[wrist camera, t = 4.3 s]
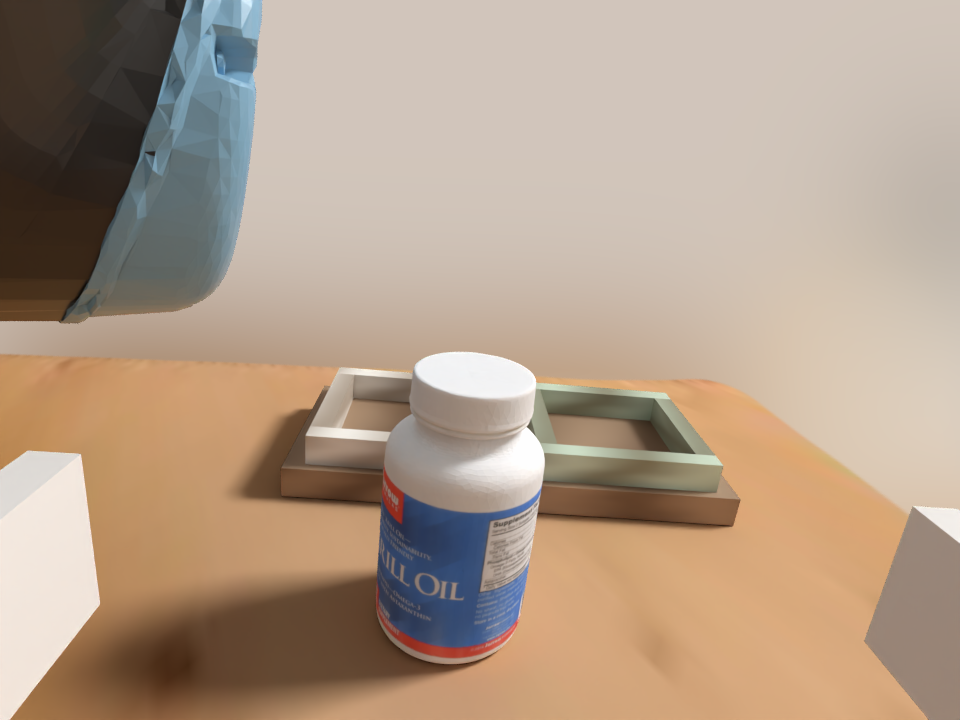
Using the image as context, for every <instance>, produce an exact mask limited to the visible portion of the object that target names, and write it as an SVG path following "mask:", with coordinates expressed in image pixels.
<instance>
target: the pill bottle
mask: <svg viewBox="0 0 960 720" xmlns="http://www.w3.org/2000/svg"><path fill="white" fill-rule="evenodd" d="M535 391H536V379H535V377H534V375H533V374H532V373H531V372H530V371H529V370H528V369H527V368H525V367H523V366H522V365H520V364H517V363H515V362H513V361H511V360H508V359H505V358H501V357H497V356H492V355H487V354H481V353H474V352H448V353H440V354H435V355H431V356H428V357H425V358H423V359H421V360H420V361H419V362H417V364H416V365H415V367H414V369H413V375H412V384H411V393H410V396H409V401H410V409H411V413H412V414H411V415H409V416H407V417H406V418H404V419H403V420H401V421H400V422H399V423H398V424H397V425H396V426H395V427H394V429H393V430H392V432H391V433H390V435H389V437H388V440H387V443H386V449H385V459H384V470H383V487H382V503H381V520H380V538H379V553H378V555H379V556H378V570H377V584H376V611H377V616H378V619H379V622H380V624H381V627H382V629H383V630H384V632H385V633H386V635H387V636H388V637H389V639H390V640H391V641H392V642H393V643H394V644H395V645H396V646H398V647H399V648H400V649H401V650H403V651H405V652H406V653H408V654H410V655H412V656H414V657H416V658H418V659H421V660H424V661H428V662H433V663H440V664H461V663H468V662H472V661H476V660H479V659H482V658H484V657H487V656H489V655H491V654H493V653H494V652H496V651H497V650H499V649H500V648H501V647H503V646H504V645H505V644H506V643H507V642H508V641H509V639H510V638H511V636H512V635H513V633H514V631H515V629H516V627H517V624H518V621H519V618H520V613H521V608H522V603H523V598H524V592H525V585H526V579H527V573H528V566H529V560H530V555H531V549H532V543H533V536H534V531H535V525H536V519H537V512H538V506H539V500H540V494H541V489H542V481H543V474H544V467H545V458H544V452H543V449H542V447H541V444H540V442H539V441H538V439H537V438H536V437H535V435H534V434H533V433H532V432H531V431H530V430H529V429H528V428H527V426H528V424H529V422H530V419H531V418H532V415H533V411H534V400H535Z"/></svg>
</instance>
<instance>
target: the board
mask: <svg viewBox="0 0 960 720" xmlns="http://www.w3.org/2000/svg"><path fill="white" fill-rule="evenodd" d="M412 375H413V373H406V372H394V371H381V370H368V369H356V368H343V367H340V368H339V370H338V372H337V374H336V376H335V378H334V380H333V382H332V384H331V386H324V388H323V390H322V392H321V394H320V395H319V397H318V399H317V401H316V403H315V405H314V407H313V409H312V411H311V412H310V414H309V416H308V418H307V420H306V422H305V424H304V426H303V427H302V429H301V431H300V433H299V435H298V437H297V439H296V441H295V443H294V444H293V446H292V448H291V450H290V452H289V454H288V456H287V458H286V459H285V461H284V463H283V465H282V467H281V496H290V497H305V498H321V499H336V500H351V501H366V502H381V503H382V487H383V470H384V459H385V449H386V443H387V440H388V437H389V435H390V433H391V432H392V430H393V429H394V427H395V426H396V425H397V424H398V423H399V422H400V421H401V420H403V419H404V418H406V417H407V416H409V415H411V414H412V413H411V409H410V401H409V396H410V393H411V384H412ZM527 428H528V429H529V430H530V431H531V432H532V433H533V434H534V435H535V437H536V438H537V439H538V441H539V442H540V444H541V447H542V449H543V452H544V458H545V467H544V474H543V481H542V489H541V494H540V500H539V506H538V512H537V513H549V514H564V515H579V516H594V517H610V518H625V519H640V520H655V521H670V522H686V523H701V524H716V525H731V526H733V525H734V521H735V517H736V514H737V510H738V507H739V503H740V498H739V497H738V496H737V494H736V493H735V492H734V490H733V489H732V488H731V487H730V485H729V484H728V483H727V481H726V480H725V479H724V477H723V476H722V475H721V473H722V470H723V465H722V463H721V462H720V461H719V460H718V458H717V457H716V456H715V454H714V453H713V452H712V451H711V449H710V448H709V447H708V446H707V444H706V443H705V442H704V441H703V439H702V438H701V437H700V436H699V434H698V433H697V432H696V431H695V429H694V428H693V427H692V426H691V424H690V423H689V422H688V421H687V419H686V418H685V417H684V416H683V414H682V413H681V412H680V411H679V409H678V408H677V407H676V406H675V404H674V403H673V402H672V401H671V399H670V398H669V397H668V396H667V394H666V393H659V392H646V391H634V390H621V389H608V388H596V387H583V386H570V385H558V384H545V383H536V391H535V400H534V411H533V415H532V418H531V419H530V422H529V424H528V426H527Z"/></svg>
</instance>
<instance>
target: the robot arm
mask: <svg viewBox="0 0 960 720" xmlns="http://www.w3.org/2000/svg"><path fill="white" fill-rule="evenodd" d="M261 18H262V0H0V321H59V322H60V323H69V324H70V323H80V322H82V321H84V320H86V319H87V318H88V317H97V316H112V315H128V314H144V313H160V312H173V311H178V310H181V309H185V308H188V307H191V306H192V305H193V304H196V303H198V302H200V301H202V300H204V299H205V298H207V297H208V296H209V295H211V294H212V293H213V292H214V291H215V289H216V288H217V287H218V286H219V285H220V283H221V281H222V280H223V278H224V276H225V274H226V272H227V269H228V267H229V265H230V262H231V259H232V256H233V252H234V248H235V244H236V240H237V236H238V232H239V226H240V221H241V216H242V210H243V204H244V198H245V191H246V184H247V177H248V170H249V163H250V153H251V145H252V137H253V126H254V114H255V102H256V89H255V82H254V78H253V71H254V70H255V68H256V66H257V65H256V64H257V45H258V38H259V32H260V26H261ZM99 605H100V599H99V591H98V584H97V576H96V568H95V560H94V552H93V545H92V537H91V529H90V521H89V514H88V506H87V498H86V490H85V482H84V475H83V467H82V459H81V454H73V453H57V452H41V451H27V452H25V453H24V454H22V455H21V456H20V457H18V458H17V459H15V460H14V461H13V462H11V463H10V464H8V465H7V466H5V467H4V468H3V469H1V470H0V720H10V719H11V717H12V716H13V715H14V713H15V712H16V711H17V710H18V708H19V707H20V706H21V705H22V703H23V702H24V701H25V699H26V698H27V697H28V696H29V694H30V693H31V692H32V690H33V689H34V688H35V687H36V685H37V684H38V683H39V682H40V680H41V679H42V678H43V676H44V675H45V674H46V673H47V671H48V670H49V669H50V667H51V666H52V665H53V664H54V662H55V661H56V660H57V659H58V657H59V656H60V655H61V653H62V652H63V651H64V650H65V648H66V647H67V646H68V644H69V643H70V642H71V641H72V639H73V638H74V637H75V636H76V634H77V633H78V632H79V630H80V629H81V628H82V627H83V625H84V624H85V623H86V621H87V620H88V619H89V618H90V616H91V615H92V614H93V613H94V611H95V610H96V609H97V607H98V606H99ZM864 641H865V643H866V644H867V645H868V646H869V648H870V649H871V650H872V651H873V652H874V654H875V655H876V656H877V657H878V658H879V660H880V661H881V662H882V663H883V665H884V666H885V667H886V668H887V669H888V671H889V672H890V673H891V674H892V675H893V677H894V678H895V679H896V680H897V682H898V683H899V684H900V685H901V686H902V688H903V689H904V690H905V691H906V692H907V694H908V695H909V696H910V697H911V699H912V700H913V701H914V702H915V703H916V705H917V706H918V707H919V708H920V709H921V711H922V712H923V713H924V714H925V716H926V717H927V718H928V719H929V720H960V511H959V510H958V509H950V508H934V507H917V506H913V507H912V509H911V512H910V515H909V518H908V521H907V523H906V526H905V529H904V532H903V535H902V537H901V540H900V543H899V546H898V548H897V551H896V554H895V557H894V560H893V562H892V565H891V568H890V571H889V573H888V576H887V579H886V582H885V585H884V587H883V590H882V593H881V596H880V599H879V601H878V604H877V607H876V610H875V612H874V615H873V618H872V621H871V624H870V626H869V629H868V632H867V635H866V638H865V640H864Z"/></svg>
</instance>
